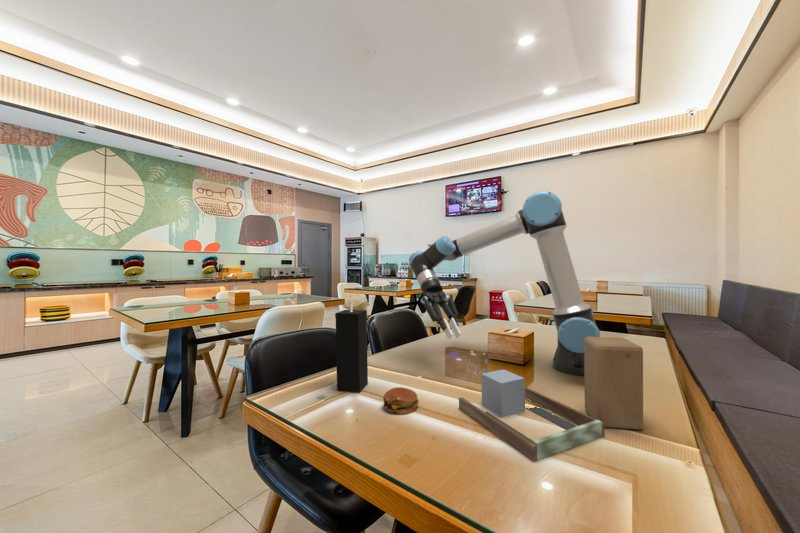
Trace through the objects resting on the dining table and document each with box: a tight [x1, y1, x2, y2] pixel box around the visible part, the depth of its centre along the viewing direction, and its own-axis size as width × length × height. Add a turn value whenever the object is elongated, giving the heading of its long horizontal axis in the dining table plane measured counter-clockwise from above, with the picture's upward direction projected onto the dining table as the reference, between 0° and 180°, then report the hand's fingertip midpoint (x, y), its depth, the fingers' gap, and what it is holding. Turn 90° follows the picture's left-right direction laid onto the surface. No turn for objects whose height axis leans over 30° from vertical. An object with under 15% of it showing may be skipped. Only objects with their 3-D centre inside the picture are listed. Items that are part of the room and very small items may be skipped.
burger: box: [382, 386, 420, 416], centre depth 90 cm, size 10×9×5 cm
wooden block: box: [583, 336, 644, 431], centre depth 81 cm, size 10×10×20 cm
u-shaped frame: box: [458, 386, 606, 462], centre depth 81 cm, size 22×26×4 cm
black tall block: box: [334, 301, 369, 393], centre depth 105 cm, size 8×8×28 cm
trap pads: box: [485, 407, 578, 443], centre depth 81 cm, size 18×16×1 cm
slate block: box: [481, 369, 526, 418], centre depth 89 cm, size 8×8×9 cm
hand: (454, 336), depth 109 cm, fingers open, 3 cm apart
